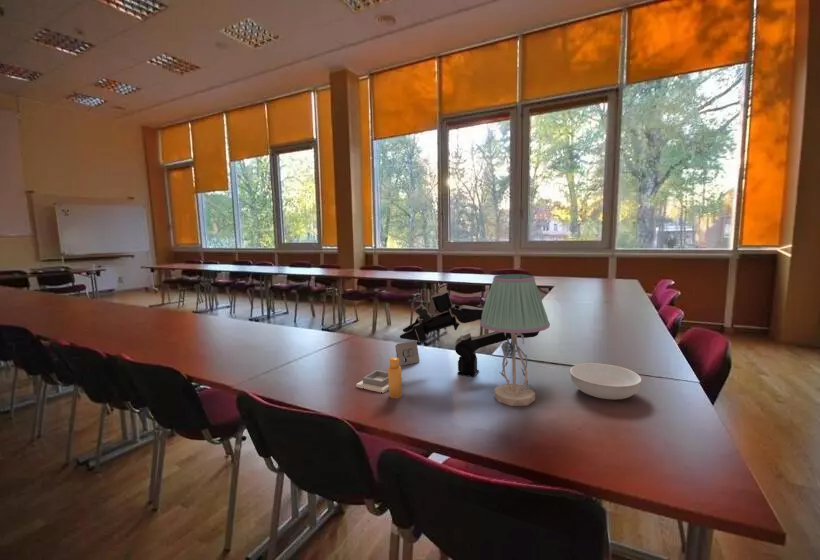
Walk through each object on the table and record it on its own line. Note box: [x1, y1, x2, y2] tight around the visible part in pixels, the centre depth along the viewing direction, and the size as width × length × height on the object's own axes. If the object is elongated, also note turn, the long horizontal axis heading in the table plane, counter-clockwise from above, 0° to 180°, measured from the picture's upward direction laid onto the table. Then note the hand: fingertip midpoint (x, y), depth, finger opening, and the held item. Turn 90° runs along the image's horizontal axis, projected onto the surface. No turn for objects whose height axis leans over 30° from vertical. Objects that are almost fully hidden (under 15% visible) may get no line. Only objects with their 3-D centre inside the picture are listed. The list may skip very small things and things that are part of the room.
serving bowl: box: [569, 362, 643, 400], centre depth 128 cm, size 21×21×7 cm
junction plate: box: [356, 369, 403, 394], centre depth 143 cm, size 12×12×3 cm
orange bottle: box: [387, 356, 403, 399], centre depth 132 cm, size 4×4×13 cm
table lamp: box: [479, 273, 551, 407], centre depth 125 cm, size 22×22×40 cm
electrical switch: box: [395, 340, 420, 367], centre depth 165 cm, size 9×5×9 cm, turn 116°
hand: (401, 333), depth 151 cm, fingers open, 9 cm apart
